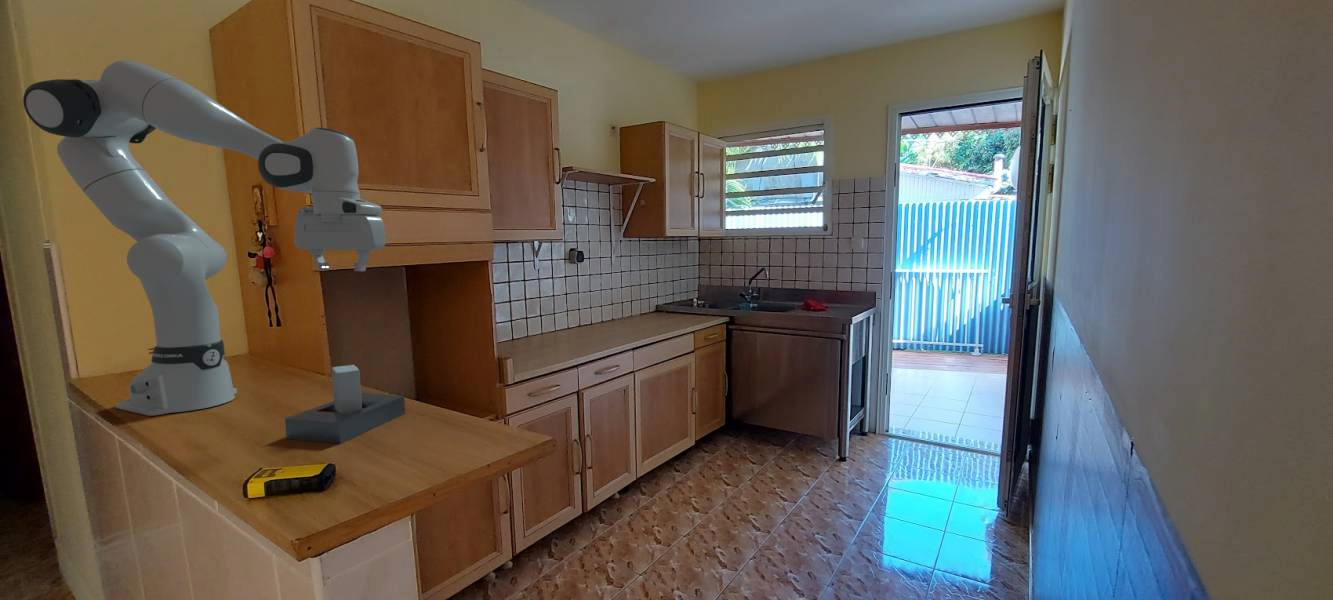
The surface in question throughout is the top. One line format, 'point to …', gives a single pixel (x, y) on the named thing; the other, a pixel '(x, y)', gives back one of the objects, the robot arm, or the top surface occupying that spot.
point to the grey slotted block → (344, 419)
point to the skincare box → (346, 389)
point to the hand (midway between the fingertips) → (341, 270)
